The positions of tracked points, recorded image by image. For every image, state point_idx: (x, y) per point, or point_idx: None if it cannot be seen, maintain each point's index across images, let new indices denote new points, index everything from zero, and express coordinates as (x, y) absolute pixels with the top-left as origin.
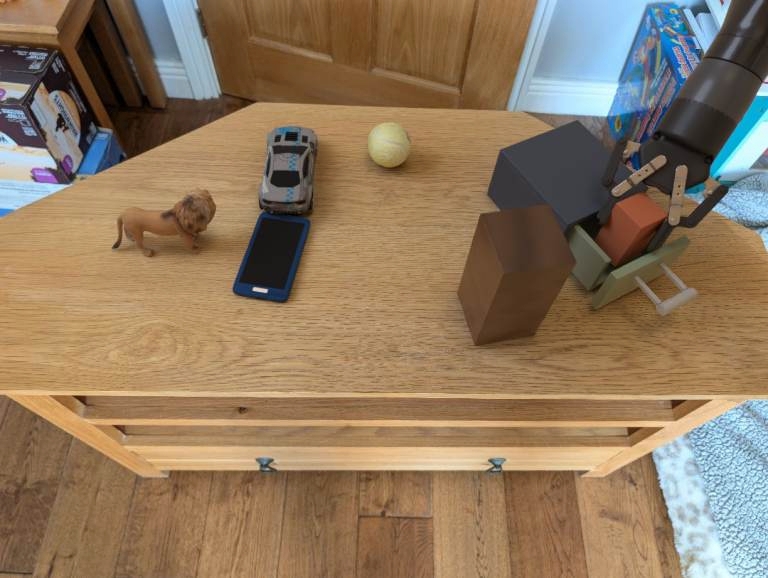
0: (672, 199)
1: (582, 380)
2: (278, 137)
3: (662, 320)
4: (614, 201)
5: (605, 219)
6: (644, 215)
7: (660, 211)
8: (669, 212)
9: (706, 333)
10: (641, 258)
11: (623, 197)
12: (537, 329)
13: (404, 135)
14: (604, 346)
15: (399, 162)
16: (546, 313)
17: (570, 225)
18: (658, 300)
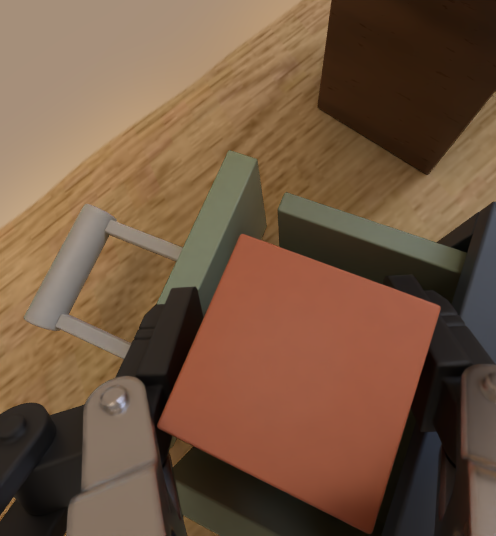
0: (151, 492)
1: (200, 94)
2: None
3: (119, 310)
4: (450, 348)
5: (401, 287)
6: (267, 328)
7: (205, 422)
8: (150, 422)
9: (30, 343)
10: (198, 274)
11: (410, 521)
12: (320, 87)
13: None
14: (196, 175)
15: None
16: (328, 26)
17: (481, 221)
18: (113, 227)
